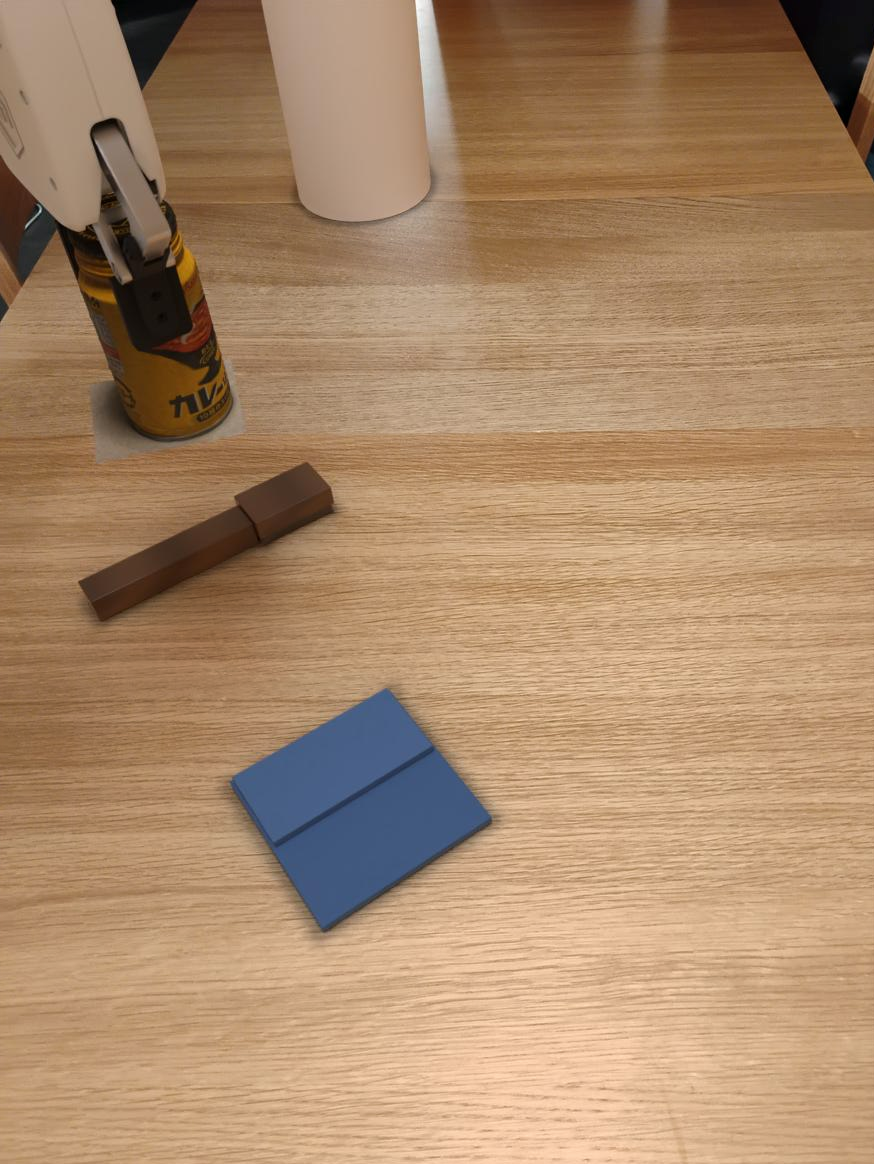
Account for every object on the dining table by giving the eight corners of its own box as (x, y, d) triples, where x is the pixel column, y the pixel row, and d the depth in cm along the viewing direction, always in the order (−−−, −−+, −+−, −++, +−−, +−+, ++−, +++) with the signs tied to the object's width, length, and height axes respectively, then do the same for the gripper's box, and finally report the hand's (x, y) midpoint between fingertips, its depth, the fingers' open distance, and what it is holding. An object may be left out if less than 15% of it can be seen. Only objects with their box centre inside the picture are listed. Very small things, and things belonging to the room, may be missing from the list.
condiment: (248, 434, 57) (194, 236, 48) (96, 466, 56) (10, 269, 46) (231, 361, 61) (179, 167, 52) (90, 389, 60) (11, 195, 51)
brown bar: (103, 627, 67) (91, 604, 65) (84, 595, 69) (72, 572, 67) (336, 511, 73) (331, 487, 71) (312, 485, 75) (307, 460, 73)
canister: (438, 154, 106) (421, -67, 90) (421, 222, 97) (399, -10, 82) (313, 154, 107) (275, -65, 91) (285, 220, 99) (238, -8, 83)
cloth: (323, 932, 53) (319, 923, 52) (231, 786, 59) (226, 776, 58) (492, 822, 57) (491, 811, 56) (390, 694, 62) (387, 683, 61)
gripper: (-162, -127, 42) (10, 266, 56) (-24, -14, 33) (139, 420, 47) (12, -163, 45) (134, 221, 59) (182, -66, 36) (278, 359, 50)
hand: (135, 307), depth 53 cm, fingers closed on condiment, 6 cm apart
